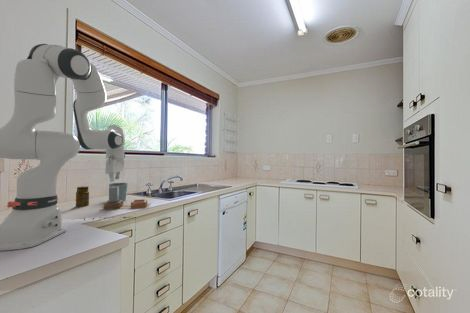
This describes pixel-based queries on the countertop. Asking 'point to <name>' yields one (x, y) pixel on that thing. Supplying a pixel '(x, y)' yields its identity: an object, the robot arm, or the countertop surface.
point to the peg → (113, 194)
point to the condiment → (82, 196)
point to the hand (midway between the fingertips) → (114, 180)
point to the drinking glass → (120, 190)
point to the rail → (126, 205)
